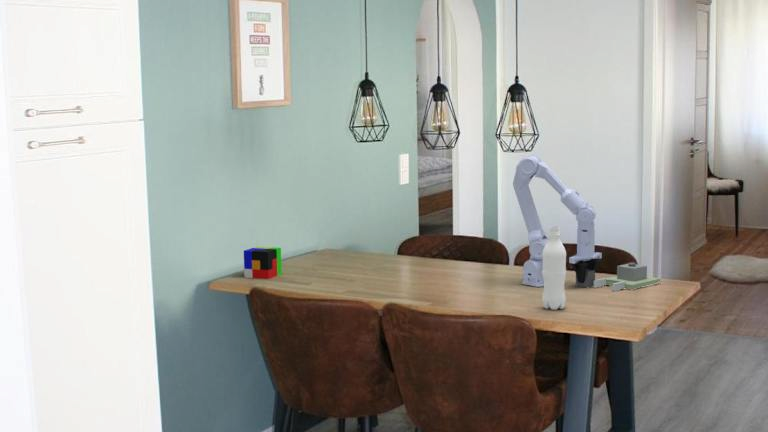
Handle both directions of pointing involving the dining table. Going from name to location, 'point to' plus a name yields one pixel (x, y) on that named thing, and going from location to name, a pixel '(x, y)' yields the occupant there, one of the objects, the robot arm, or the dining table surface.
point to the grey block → (587, 279)
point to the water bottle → (554, 271)
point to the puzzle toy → (262, 262)
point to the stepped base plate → (627, 277)
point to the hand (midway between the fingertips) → (585, 281)
